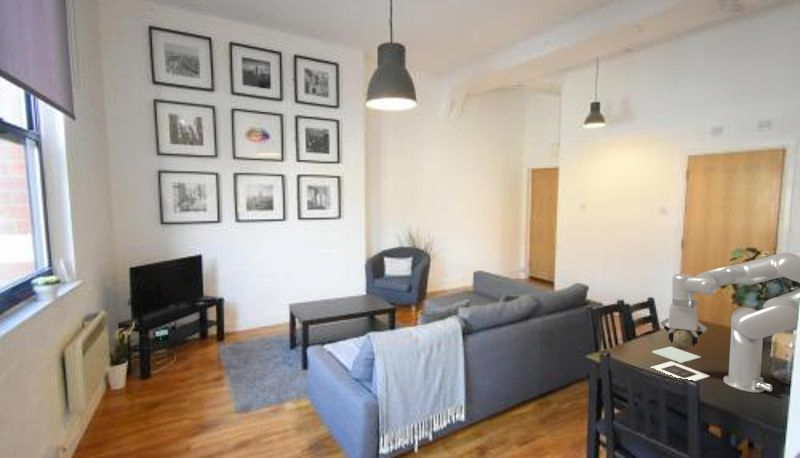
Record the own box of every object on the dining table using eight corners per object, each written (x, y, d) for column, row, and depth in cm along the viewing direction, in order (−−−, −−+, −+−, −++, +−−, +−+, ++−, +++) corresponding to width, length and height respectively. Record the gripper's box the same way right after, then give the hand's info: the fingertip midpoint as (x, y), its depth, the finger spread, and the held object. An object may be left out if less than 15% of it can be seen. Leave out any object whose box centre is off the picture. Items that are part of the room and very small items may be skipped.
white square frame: (709, 376, 166) (709, 375, 166) (689, 383, 160) (689, 382, 160) (670, 362, 180) (671, 361, 180) (650, 368, 175) (650, 366, 175)
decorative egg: (675, 351, 167) (676, 328, 166) (670, 345, 174) (670, 323, 173) (695, 352, 165) (696, 329, 164) (689, 346, 171) (689, 324, 171)
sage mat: (700, 358, 184) (700, 356, 184) (681, 363, 179) (682, 362, 179) (670, 347, 197) (670, 346, 197) (651, 352, 192) (651, 351, 192)
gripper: (708, 303, 165) (708, 344, 167) (659, 298, 176) (659, 337, 177) (709, 307, 159) (708, 350, 161) (658, 302, 170) (657, 342, 171)
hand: (682, 343), depth 169 cm, fingers closed on decorative egg, 7 cm apart
